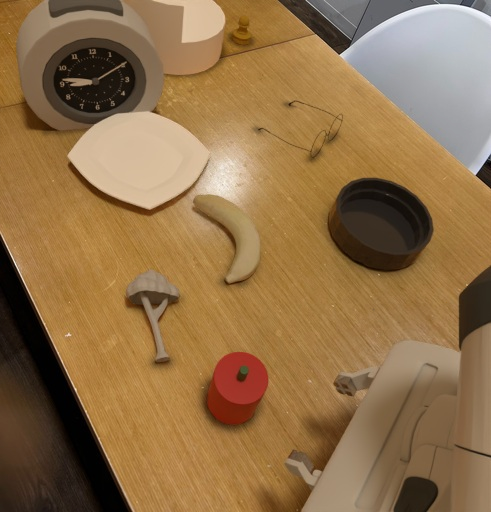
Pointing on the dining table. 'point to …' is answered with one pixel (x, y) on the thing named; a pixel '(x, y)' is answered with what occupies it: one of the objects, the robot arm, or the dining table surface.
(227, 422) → the pepper
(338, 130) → the eyeglasses
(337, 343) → the dining table surface
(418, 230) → the pan
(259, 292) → the dining table surface
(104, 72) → the alarm clock
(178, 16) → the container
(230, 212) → the fruit
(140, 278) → the mushroom
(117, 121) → the plate
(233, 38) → the chess piece
